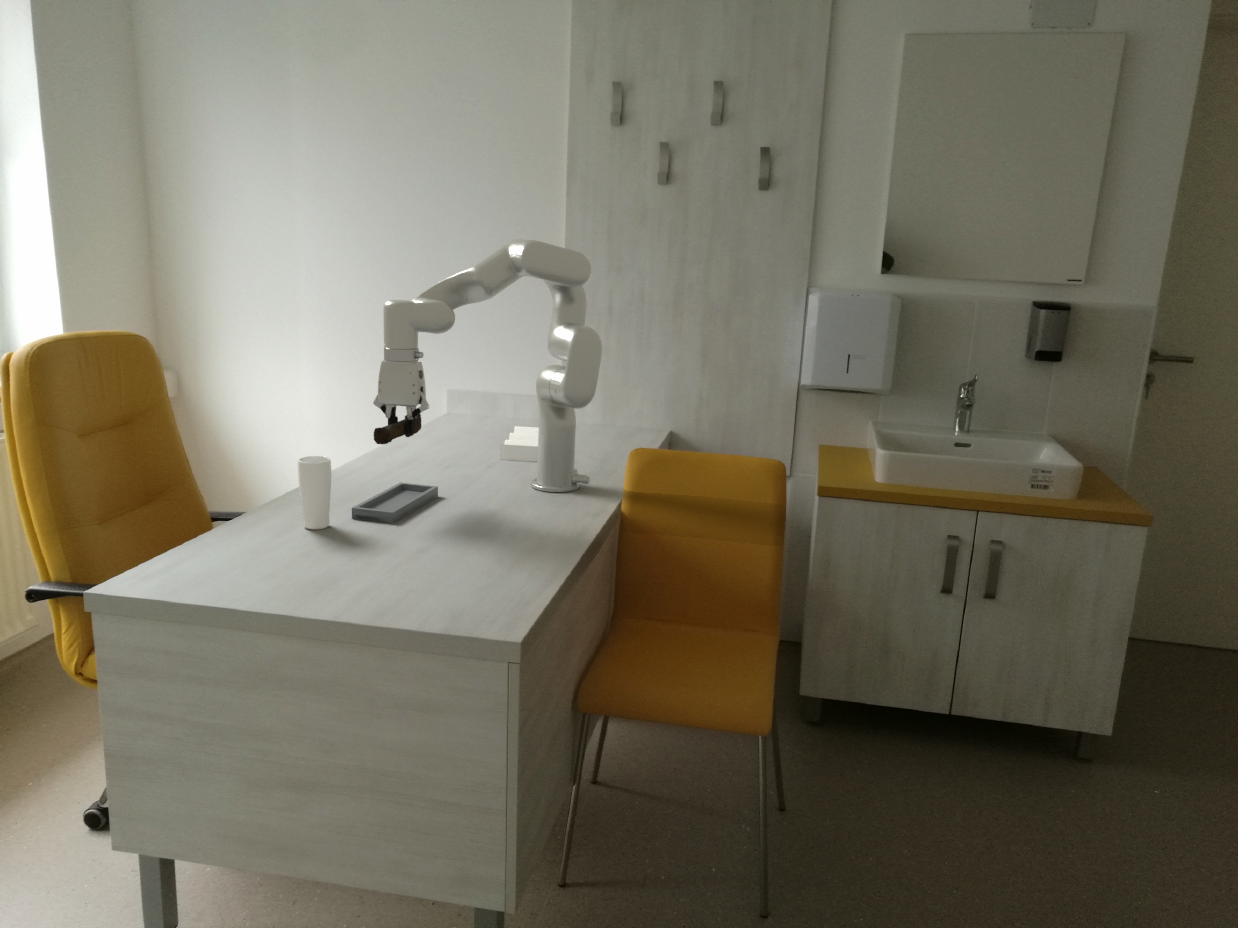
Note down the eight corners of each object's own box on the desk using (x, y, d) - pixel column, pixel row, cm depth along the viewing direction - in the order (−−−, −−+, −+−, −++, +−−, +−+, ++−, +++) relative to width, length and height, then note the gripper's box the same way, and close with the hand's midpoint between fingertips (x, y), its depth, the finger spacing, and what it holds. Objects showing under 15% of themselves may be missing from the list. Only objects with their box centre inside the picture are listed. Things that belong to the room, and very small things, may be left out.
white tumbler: (303, 532, 198) (300, 464, 195) (297, 523, 204) (295, 457, 201) (335, 529, 201) (333, 461, 198) (329, 520, 207) (327, 454, 204)
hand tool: (388, 446, 206) (388, 425, 205) (372, 444, 207) (372, 423, 206) (431, 431, 224) (431, 412, 223) (416, 429, 225) (416, 410, 224)
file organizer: (556, 439, 304) (557, 423, 303) (544, 464, 270) (545, 446, 269) (516, 436, 304) (517, 421, 303) (499, 461, 270) (499, 444, 269)
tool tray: (437, 496, 230) (437, 486, 230) (393, 523, 207) (392, 512, 207) (400, 492, 232) (400, 482, 232) (351, 518, 210) (351, 507, 209)
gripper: (441, 356, 213) (441, 435, 217) (375, 351, 217) (376, 429, 221) (428, 360, 206) (428, 441, 210) (359, 354, 209) (360, 435, 214)
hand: (401, 434), depth 216 cm, fingers closed on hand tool, 3 cm apart
